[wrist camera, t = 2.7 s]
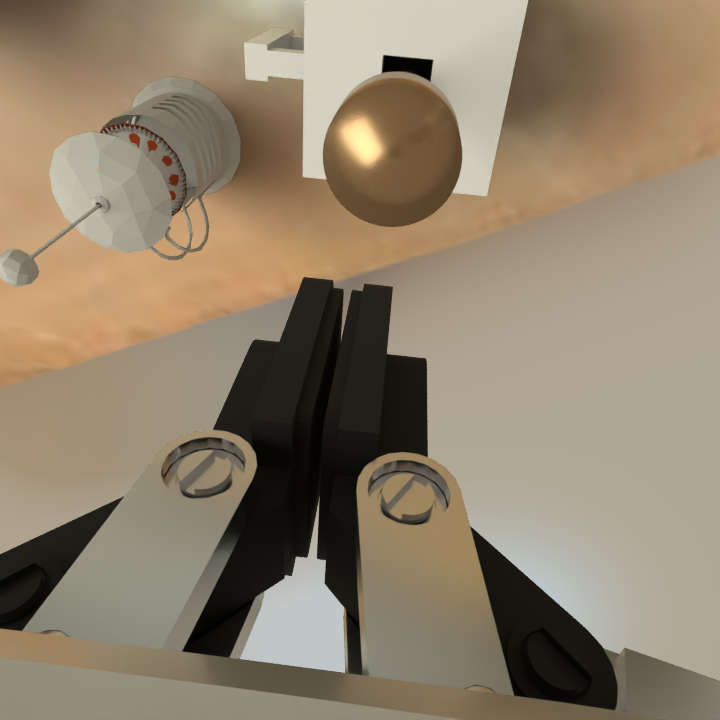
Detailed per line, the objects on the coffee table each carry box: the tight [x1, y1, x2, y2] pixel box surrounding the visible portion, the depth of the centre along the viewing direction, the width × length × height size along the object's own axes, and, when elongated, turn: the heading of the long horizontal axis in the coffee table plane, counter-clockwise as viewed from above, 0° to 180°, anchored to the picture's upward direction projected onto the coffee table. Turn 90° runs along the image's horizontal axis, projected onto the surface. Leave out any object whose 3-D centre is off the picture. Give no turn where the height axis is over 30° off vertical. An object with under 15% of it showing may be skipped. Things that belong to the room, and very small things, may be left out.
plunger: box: [323, 63, 462, 227], centre depth 27 cm, size 5×5×18 cm
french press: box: [0, 76, 241, 287], centre depth 38 cm, size 10×12×25 cm
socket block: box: [244, 0, 528, 196], centre depth 37 cm, size 16×12×13 cm
